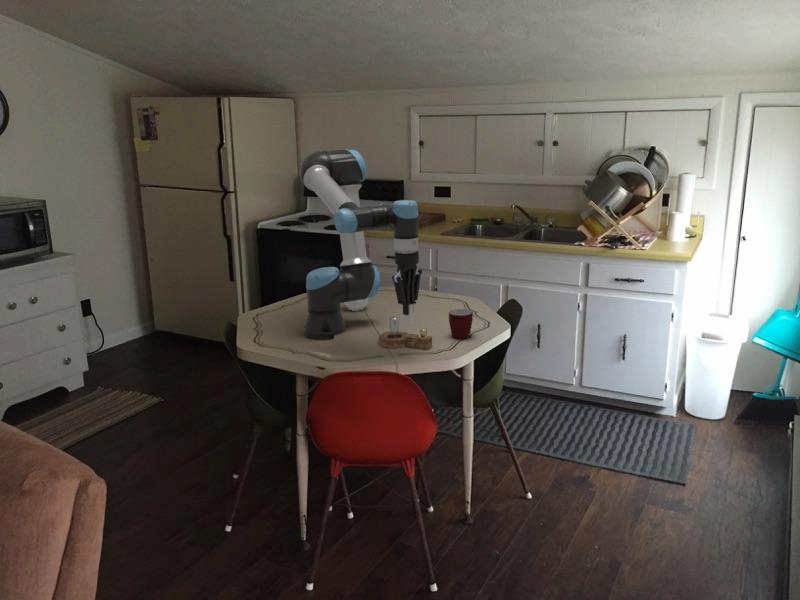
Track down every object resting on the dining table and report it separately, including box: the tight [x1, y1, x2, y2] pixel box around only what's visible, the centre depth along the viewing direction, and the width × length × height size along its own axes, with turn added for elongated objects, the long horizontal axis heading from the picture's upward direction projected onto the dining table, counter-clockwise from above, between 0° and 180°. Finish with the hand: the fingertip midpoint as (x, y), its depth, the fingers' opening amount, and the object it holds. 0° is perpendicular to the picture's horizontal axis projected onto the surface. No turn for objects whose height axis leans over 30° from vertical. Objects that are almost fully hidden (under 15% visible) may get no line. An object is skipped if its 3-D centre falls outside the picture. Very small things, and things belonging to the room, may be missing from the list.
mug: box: [448, 308, 474, 340], centre depth 238 cm, size 11×8×10 cm
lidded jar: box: [343, 298, 370, 312], centre depth 277 cm, size 11×11×9 cm
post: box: [389, 316, 400, 339], centre depth 231 cm, size 3×3×9 cm
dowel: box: [419, 327, 428, 338], centre depth 231 cm, size 2×2×5 cm
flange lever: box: [378, 331, 433, 351], centre depth 230 cm, size 18×10×4 cm, turn 63°
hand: (408, 323), depth 219 cm, fingers closed
